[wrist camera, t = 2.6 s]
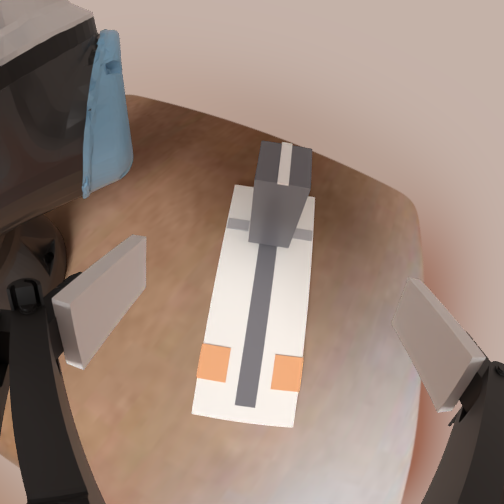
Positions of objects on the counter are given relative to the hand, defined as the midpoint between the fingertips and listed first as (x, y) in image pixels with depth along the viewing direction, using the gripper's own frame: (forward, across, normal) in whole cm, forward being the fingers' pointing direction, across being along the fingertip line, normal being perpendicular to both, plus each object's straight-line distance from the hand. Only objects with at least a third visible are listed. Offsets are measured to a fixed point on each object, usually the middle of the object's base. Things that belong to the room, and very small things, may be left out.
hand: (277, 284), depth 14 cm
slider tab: (+17, 0, -2) cm, 17 cm away
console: (+14, 0, -9) cm, 16 cm away
